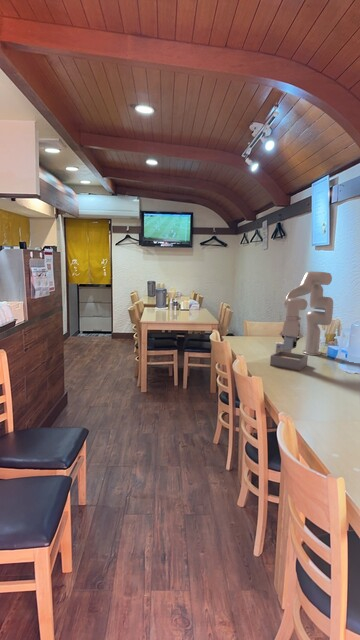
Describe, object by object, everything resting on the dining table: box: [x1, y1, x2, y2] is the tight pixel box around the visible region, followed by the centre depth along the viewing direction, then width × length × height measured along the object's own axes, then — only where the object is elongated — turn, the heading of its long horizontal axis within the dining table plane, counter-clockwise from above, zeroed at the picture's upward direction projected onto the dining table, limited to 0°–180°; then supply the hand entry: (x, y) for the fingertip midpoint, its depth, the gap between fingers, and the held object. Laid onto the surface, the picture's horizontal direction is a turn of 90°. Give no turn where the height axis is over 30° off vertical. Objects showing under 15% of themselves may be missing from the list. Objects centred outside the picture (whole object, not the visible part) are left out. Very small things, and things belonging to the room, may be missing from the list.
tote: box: [269, 351, 309, 372], centre depth 240 cm, size 17×19×6 cm
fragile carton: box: [283, 336, 297, 351], centre depth 238 cm, size 9×5×7 cm, turn 145°
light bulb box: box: [274, 341, 292, 354], centre depth 258 cm, size 11×7×11 cm, turn 84°
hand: (289, 346), depth 239 cm, fingers closed on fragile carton, 5 cm apart
